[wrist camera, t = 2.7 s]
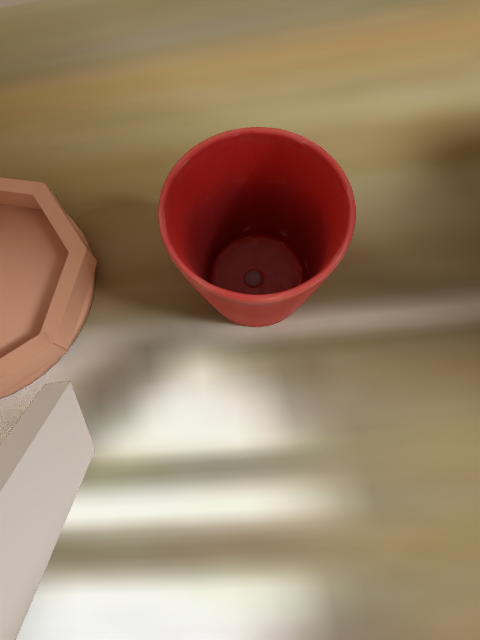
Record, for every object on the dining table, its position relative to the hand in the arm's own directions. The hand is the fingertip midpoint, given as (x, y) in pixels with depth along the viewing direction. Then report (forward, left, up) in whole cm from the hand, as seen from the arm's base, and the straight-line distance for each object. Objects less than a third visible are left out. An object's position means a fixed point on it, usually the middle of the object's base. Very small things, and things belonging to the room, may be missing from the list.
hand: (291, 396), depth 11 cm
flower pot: (+9, -5, -15) cm, 18 cm away
